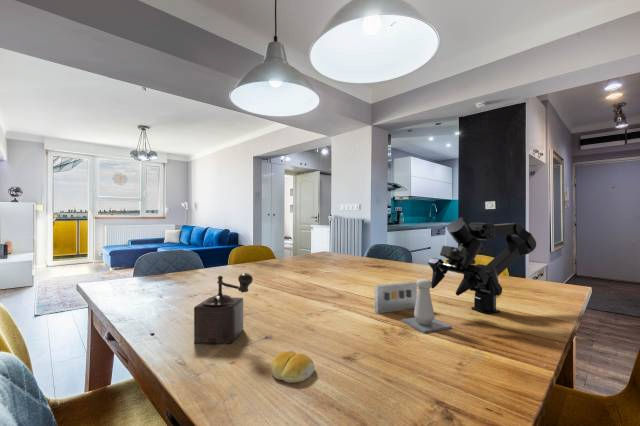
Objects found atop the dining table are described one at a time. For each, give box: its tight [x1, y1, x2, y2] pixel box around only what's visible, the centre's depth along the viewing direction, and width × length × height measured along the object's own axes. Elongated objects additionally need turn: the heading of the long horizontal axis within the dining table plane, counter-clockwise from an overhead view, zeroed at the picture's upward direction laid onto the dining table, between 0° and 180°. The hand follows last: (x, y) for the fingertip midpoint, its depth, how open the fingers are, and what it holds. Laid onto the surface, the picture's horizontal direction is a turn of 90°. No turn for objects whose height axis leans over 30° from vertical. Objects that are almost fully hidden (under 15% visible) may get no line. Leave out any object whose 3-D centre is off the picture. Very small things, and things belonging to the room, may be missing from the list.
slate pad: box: [401, 316, 453, 334], centre depth 91 cm, size 10×10×1 cm
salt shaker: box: [413, 278, 435, 326], centre depth 90 cm, size 6×6×13 cm
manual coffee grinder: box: [193, 272, 254, 345], centre depth 83 cm, size 16×11×18 cm
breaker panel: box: [374, 281, 418, 315], centre depth 104 cm, size 16×3×9 cm, turn 111°
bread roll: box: [270, 350, 315, 384], centre depth 64 cm, size 8×9×4 cm
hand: (443, 291), depth 94 cm, fingers open, 9 cm apart
